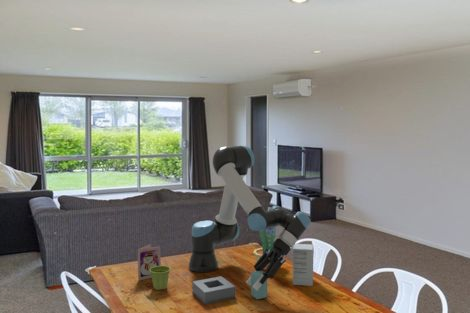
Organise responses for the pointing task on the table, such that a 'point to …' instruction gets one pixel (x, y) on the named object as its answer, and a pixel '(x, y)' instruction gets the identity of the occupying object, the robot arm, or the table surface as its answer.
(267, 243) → the potted cactus
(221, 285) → the socket
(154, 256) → the greeting card
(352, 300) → the table surface
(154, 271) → the plant pot
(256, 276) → the peg
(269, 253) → the robot arm
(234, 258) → the table surface
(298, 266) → the supplement box
